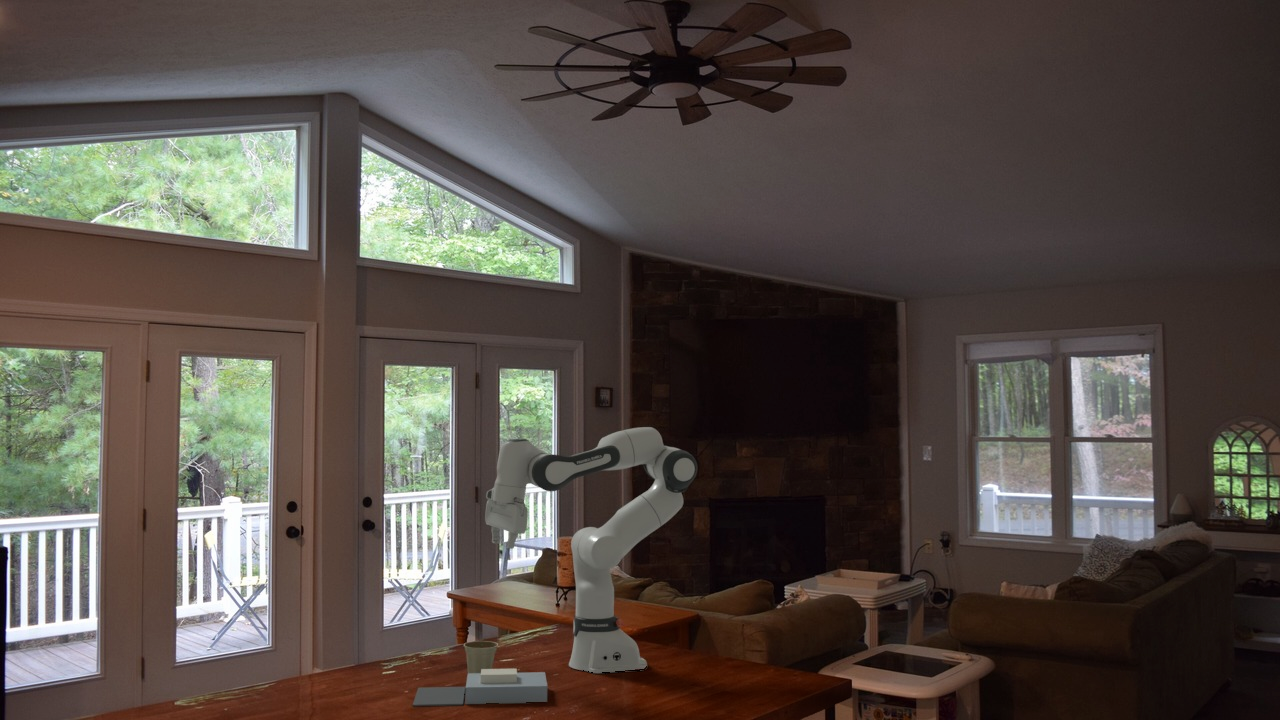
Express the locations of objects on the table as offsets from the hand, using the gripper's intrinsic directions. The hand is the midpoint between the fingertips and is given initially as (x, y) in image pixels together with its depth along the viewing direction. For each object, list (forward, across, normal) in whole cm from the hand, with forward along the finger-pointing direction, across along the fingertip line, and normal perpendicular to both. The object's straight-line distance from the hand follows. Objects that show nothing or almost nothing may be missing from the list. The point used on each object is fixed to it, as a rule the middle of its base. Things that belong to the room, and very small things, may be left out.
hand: (502, 545), depth 269 cm
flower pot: (+36, -1, +2) cm, 36 cm away
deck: (+35, -22, +4) cm, 41 cm away
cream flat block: (+31, -21, +6) cm, 38 cm away
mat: (+36, -15, +19) cm, 44 cm away
